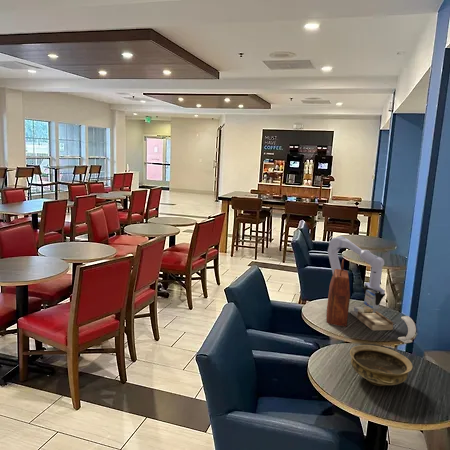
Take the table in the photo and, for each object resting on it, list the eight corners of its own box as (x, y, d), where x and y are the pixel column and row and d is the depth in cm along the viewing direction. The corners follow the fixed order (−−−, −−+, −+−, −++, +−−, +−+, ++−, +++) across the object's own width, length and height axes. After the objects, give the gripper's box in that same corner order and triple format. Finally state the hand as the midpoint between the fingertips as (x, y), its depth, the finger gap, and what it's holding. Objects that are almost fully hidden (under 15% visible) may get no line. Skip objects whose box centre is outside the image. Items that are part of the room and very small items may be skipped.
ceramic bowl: (418, 407, 149) (422, 382, 147) (351, 396, 153) (354, 371, 151) (399, 367, 178) (402, 345, 176) (343, 358, 182) (345, 337, 180)
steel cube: (357, 316, 234) (353, 313, 237) (363, 315, 235) (359, 313, 238) (358, 309, 233) (354, 306, 237) (364, 309, 234) (360, 306, 238)
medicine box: (363, 303, 233) (365, 289, 231) (370, 303, 234) (372, 289, 233) (372, 309, 225) (374, 294, 224) (379, 308, 227) (381, 293, 225)
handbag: (326, 324, 220) (333, 262, 214) (326, 311, 239) (333, 253, 232) (346, 327, 218) (354, 265, 211) (344, 314, 237) (352, 256, 230)
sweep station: (350, 312, 239) (351, 306, 238) (368, 312, 242) (369, 306, 241) (372, 330, 216) (373, 322, 215) (392, 330, 218) (393, 322, 218)
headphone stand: (404, 337, 209) (407, 315, 207) (413, 343, 204) (417, 320, 202) (397, 339, 207) (401, 316, 205) (407, 344, 202) (411, 321, 200)
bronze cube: (365, 315, 235) (362, 312, 239) (372, 315, 236) (369, 313, 240) (366, 309, 235) (363, 306, 238) (373, 309, 235) (370, 306, 239)
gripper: (361, 275, 232) (358, 297, 235) (378, 283, 219) (375, 307, 221) (371, 274, 235) (368, 297, 237) (389, 282, 222) (385, 306, 224)
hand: (372, 301), depth 229 cm, fingers closed on medicine box, 7 cm apart
